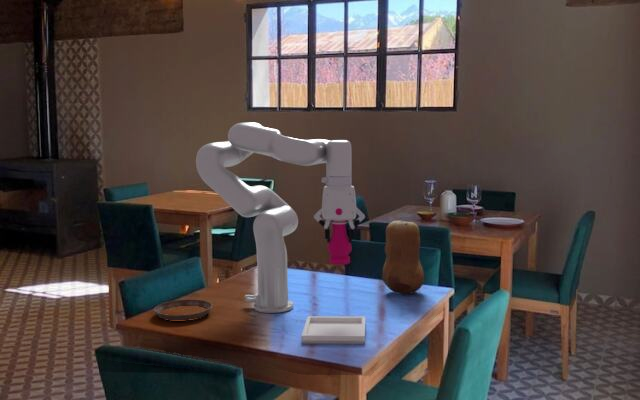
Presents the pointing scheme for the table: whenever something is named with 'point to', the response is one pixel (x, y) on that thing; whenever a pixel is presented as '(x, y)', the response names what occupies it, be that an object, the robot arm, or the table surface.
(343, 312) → the table surface
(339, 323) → the tray
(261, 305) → the robot arm
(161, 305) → the plant saucer
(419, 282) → the butternut squash
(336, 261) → the pepper mill
